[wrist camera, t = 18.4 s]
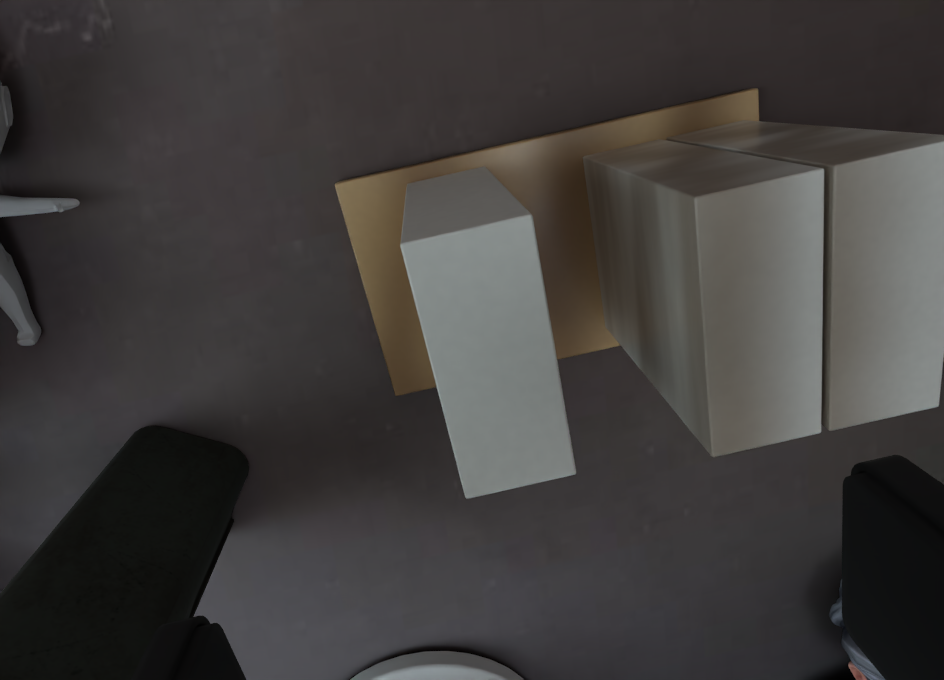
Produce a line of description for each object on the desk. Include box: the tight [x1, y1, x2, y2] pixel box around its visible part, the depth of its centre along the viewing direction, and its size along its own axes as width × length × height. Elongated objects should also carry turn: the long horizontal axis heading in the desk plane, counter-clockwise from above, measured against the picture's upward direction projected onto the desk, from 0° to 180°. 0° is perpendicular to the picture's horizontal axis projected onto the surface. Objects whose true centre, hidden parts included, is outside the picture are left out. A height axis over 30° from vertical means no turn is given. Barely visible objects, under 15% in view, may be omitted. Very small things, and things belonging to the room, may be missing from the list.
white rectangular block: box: [400, 167, 576, 499], centre depth 19 cm, size 3×7×10 cm, turn 12°
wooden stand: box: [335, 88, 944, 457], centre depth 20 cm, size 16×9×11 cm, turn 102°
